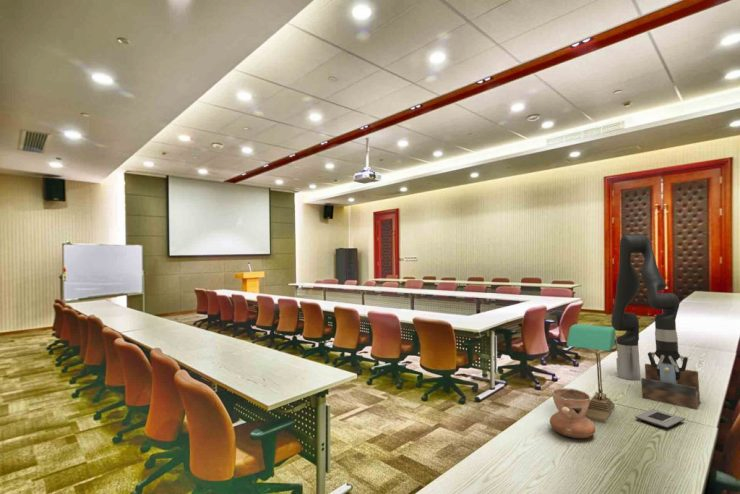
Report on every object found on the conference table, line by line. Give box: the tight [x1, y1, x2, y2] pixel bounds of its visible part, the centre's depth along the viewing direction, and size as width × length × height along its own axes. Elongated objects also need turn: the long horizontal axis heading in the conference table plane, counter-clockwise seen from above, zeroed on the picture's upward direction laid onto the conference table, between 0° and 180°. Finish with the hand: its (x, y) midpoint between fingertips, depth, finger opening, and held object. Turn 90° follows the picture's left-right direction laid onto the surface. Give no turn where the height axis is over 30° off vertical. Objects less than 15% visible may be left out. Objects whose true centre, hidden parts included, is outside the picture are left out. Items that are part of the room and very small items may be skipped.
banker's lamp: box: [566, 323, 618, 424], centre depth 148 cm, size 16×21×35 cm
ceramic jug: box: [549, 387, 596, 439], centre depth 132 cm, size 18×14×14 cm
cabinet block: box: [659, 362, 678, 384], centre depth 157 cm, size 5×6×10 cm
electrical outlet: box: [634, 408, 686, 429], centre depth 138 cm, size 13×10×2 cm
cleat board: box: [640, 363, 701, 410], centre depth 157 cm, size 18×10×13 cm, turn 42°
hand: (668, 378), depth 157 cm, fingers closed on cabinet block, 5 cm apart
